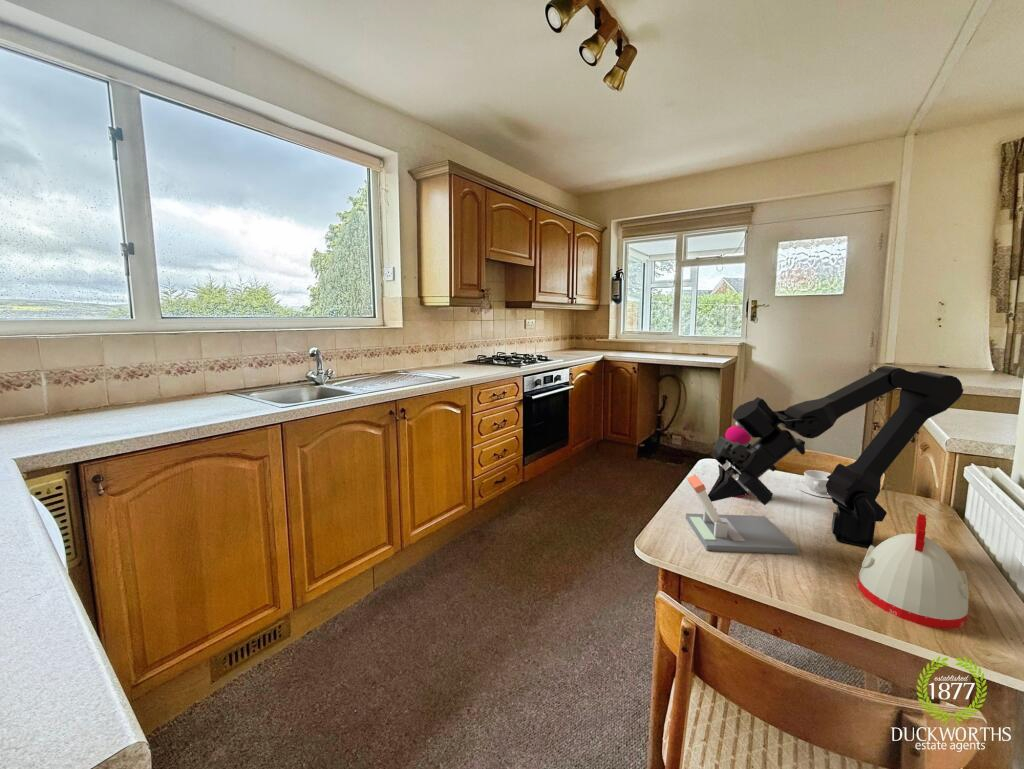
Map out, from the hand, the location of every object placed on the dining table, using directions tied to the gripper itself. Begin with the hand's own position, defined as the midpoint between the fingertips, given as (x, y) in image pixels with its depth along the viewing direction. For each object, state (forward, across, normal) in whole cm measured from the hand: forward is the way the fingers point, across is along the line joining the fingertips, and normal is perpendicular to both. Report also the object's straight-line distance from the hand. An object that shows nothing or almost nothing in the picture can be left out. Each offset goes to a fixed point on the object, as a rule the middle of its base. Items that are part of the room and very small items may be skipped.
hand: (708, 499), depth 96 cm
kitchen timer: (-13, +20, +25) cm, 35 cm away
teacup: (-21, -26, +33) cm, 47 cm away
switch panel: (+1, 0, +10) cm, 11 cm away
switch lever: (+2, 0, +4) cm, 5 cm away
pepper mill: (-5, -23, +16) cm, 29 cm away
